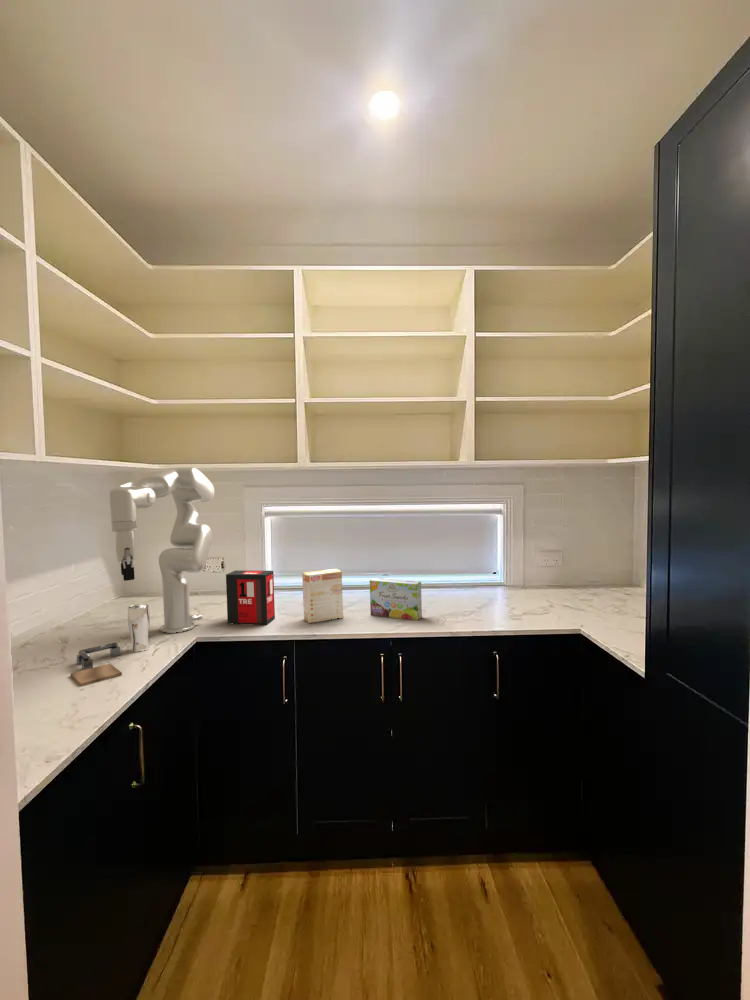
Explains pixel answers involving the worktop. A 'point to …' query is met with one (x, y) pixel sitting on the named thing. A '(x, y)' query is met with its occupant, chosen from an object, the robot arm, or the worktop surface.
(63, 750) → the worktop surface
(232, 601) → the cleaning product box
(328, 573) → the coffeecake box
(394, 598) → the snack box
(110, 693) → the worktop surface
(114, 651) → the grey metal bent rod
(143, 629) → the beer glass
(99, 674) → the walnut board
